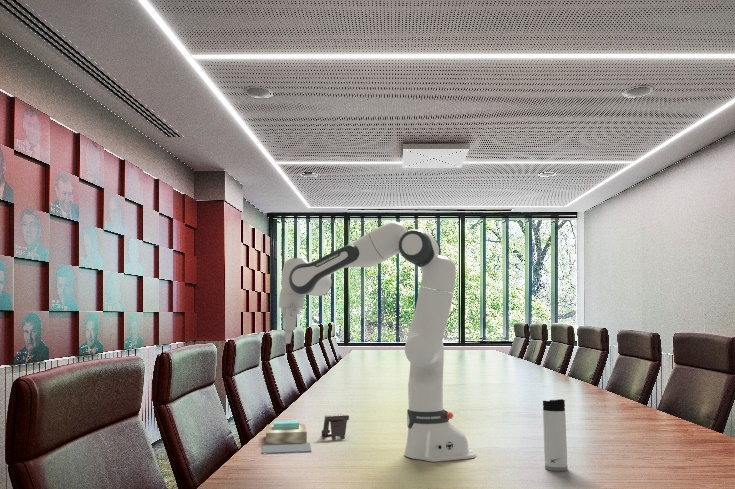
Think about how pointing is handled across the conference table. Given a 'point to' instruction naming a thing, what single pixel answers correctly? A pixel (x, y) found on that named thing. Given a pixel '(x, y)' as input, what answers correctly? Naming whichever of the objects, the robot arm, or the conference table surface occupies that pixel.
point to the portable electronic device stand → (335, 426)
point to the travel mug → (555, 435)
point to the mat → (286, 448)
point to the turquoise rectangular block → (286, 424)
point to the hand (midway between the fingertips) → (287, 343)
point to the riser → (286, 435)
